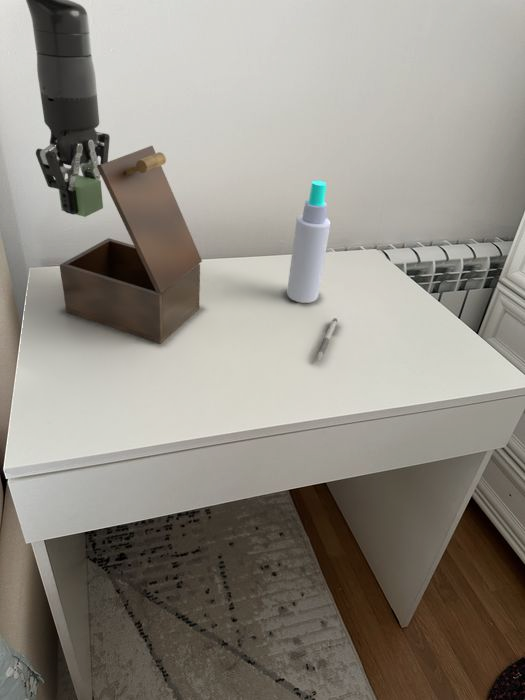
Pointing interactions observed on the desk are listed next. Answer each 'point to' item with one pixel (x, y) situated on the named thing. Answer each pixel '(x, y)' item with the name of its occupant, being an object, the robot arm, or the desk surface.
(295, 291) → the spray bottle
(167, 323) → the chest
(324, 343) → the pen
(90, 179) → the block
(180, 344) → the desk surface
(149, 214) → the lid
